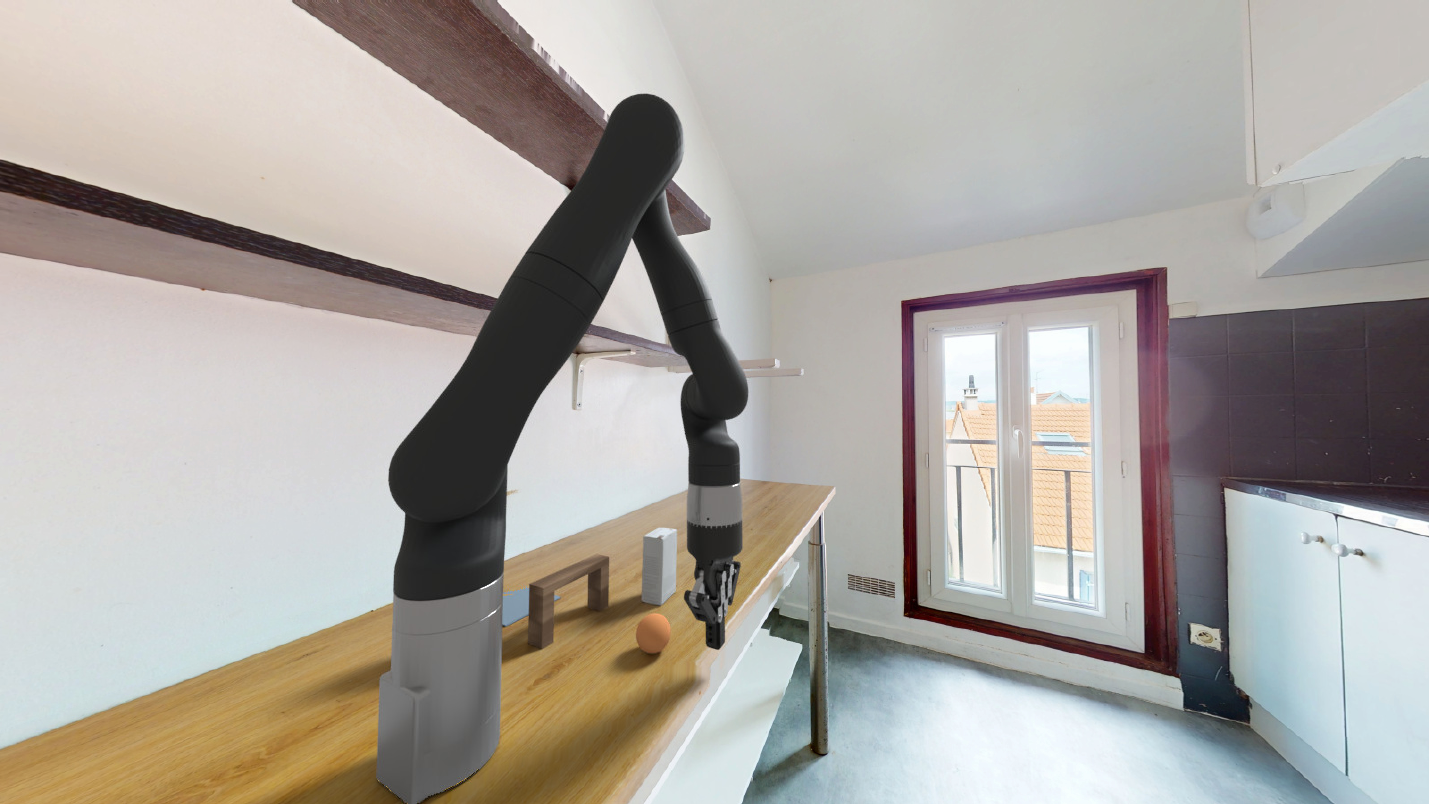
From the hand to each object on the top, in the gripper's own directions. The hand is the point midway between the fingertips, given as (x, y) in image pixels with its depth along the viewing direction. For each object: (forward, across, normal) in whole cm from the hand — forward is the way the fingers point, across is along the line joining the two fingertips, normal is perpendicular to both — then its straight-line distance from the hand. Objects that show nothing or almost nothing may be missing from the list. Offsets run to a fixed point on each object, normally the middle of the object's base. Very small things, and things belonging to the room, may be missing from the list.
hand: (715, 645), depth 52 cm
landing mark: (+3, 0, +40) cm, 40 cm away
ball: (+1, 0, +10) cm, 10 cm away
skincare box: (+3, +14, +18) cm, 23 cm away
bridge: (+3, 0, +26) cm, 26 cm away
